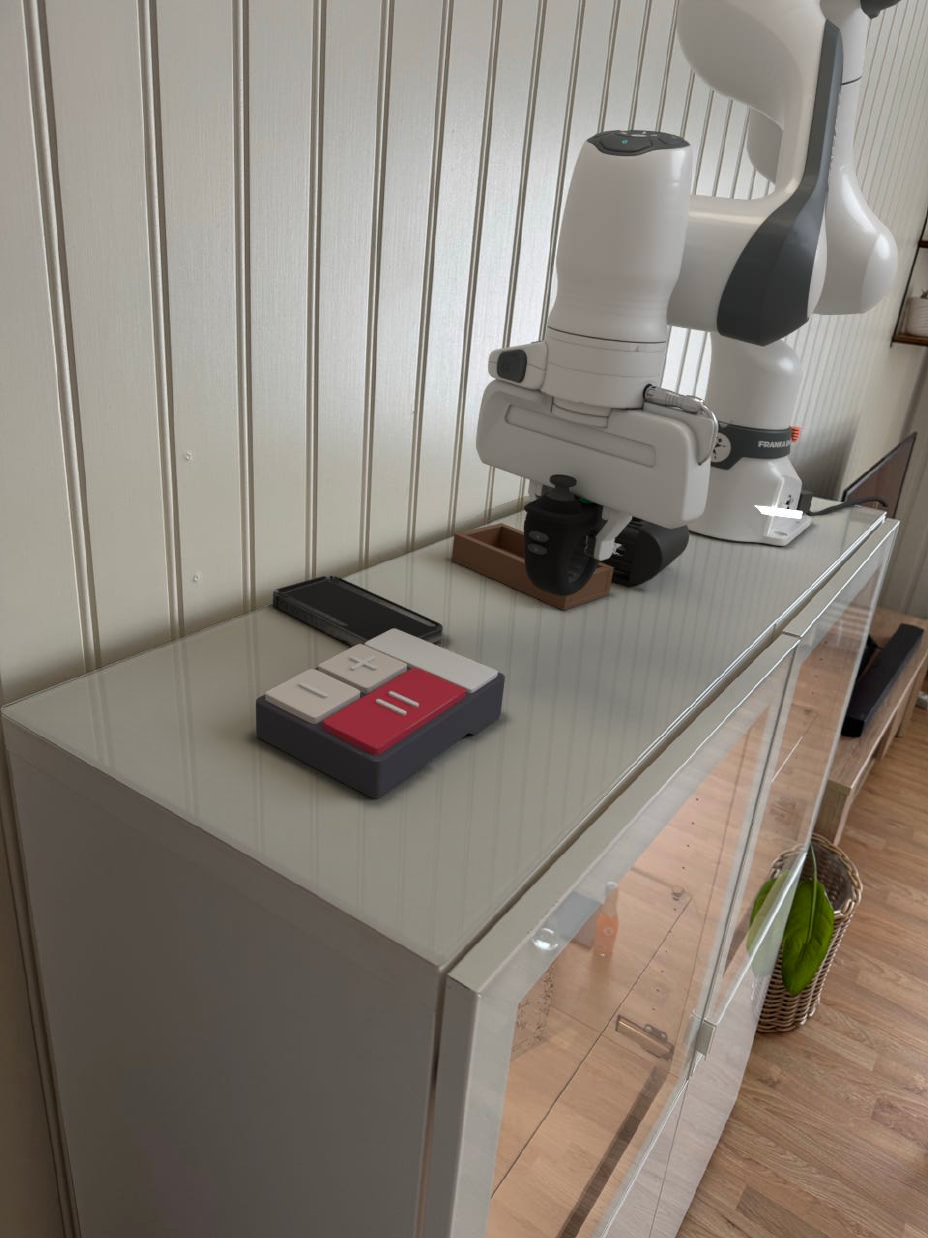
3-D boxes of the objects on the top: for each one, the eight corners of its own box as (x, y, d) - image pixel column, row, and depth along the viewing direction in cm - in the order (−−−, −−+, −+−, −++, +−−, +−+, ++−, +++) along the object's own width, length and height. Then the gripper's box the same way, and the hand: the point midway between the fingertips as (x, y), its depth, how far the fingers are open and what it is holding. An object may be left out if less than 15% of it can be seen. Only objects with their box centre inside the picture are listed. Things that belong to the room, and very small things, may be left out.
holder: (497, 548, 106) (501, 522, 105) (608, 595, 96) (614, 567, 95) (451, 560, 100) (454, 533, 99) (563, 610, 91) (568, 581, 90)
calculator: (252, 689, 62) (393, 618, 74) (253, 743, 64) (390, 666, 76) (378, 753, 57) (509, 665, 68) (375, 809, 59) (503, 715, 70)
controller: (503, 600, 73) (520, 477, 68) (576, 562, 82) (594, 452, 78) (551, 618, 71) (571, 491, 66) (620, 577, 80) (641, 464, 76)
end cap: (654, 596, 98) (667, 535, 95) (592, 578, 100) (603, 518, 98) (682, 571, 106) (695, 514, 103) (623, 555, 109) (634, 499, 106)
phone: (331, 573, 90) (448, 626, 81) (330, 584, 90) (446, 638, 82) (266, 591, 84) (385, 650, 76) (266, 603, 84) (384, 663, 76)
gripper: (745, 399, 65) (703, 581, 71) (525, 346, 77) (504, 505, 83) (698, 406, 61) (658, 599, 67) (473, 349, 73) (455, 516, 79)
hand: (571, 546), depth 75 cm, fingers closed on controller, 4 cm apart
